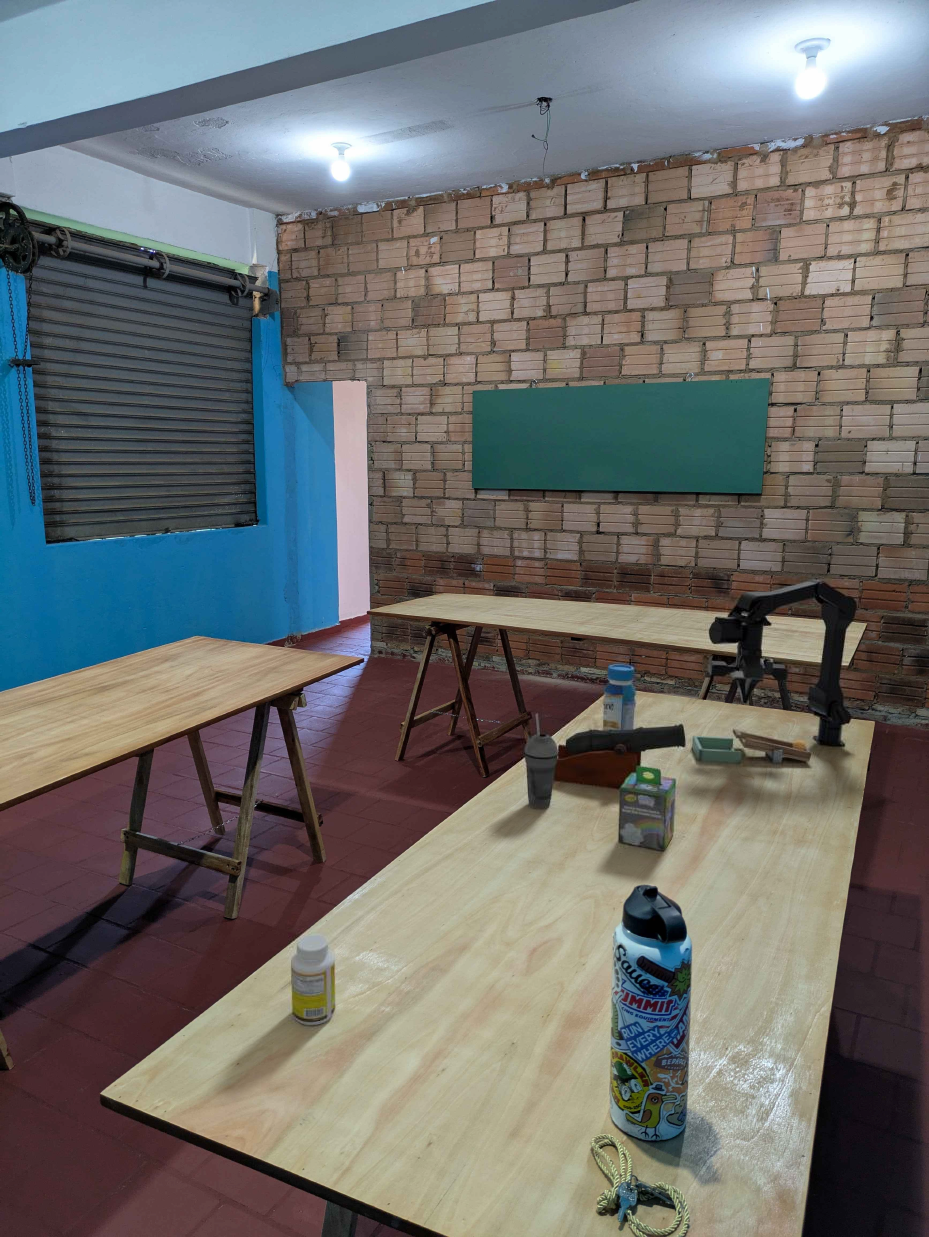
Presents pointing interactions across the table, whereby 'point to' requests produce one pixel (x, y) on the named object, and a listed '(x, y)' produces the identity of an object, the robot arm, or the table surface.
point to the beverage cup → (540, 768)
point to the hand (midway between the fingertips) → (744, 703)
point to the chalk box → (647, 809)
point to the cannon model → (611, 754)
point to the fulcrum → (776, 756)
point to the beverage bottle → (619, 698)
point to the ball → (799, 745)
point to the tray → (715, 750)
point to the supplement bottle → (313, 980)
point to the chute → (771, 745)
